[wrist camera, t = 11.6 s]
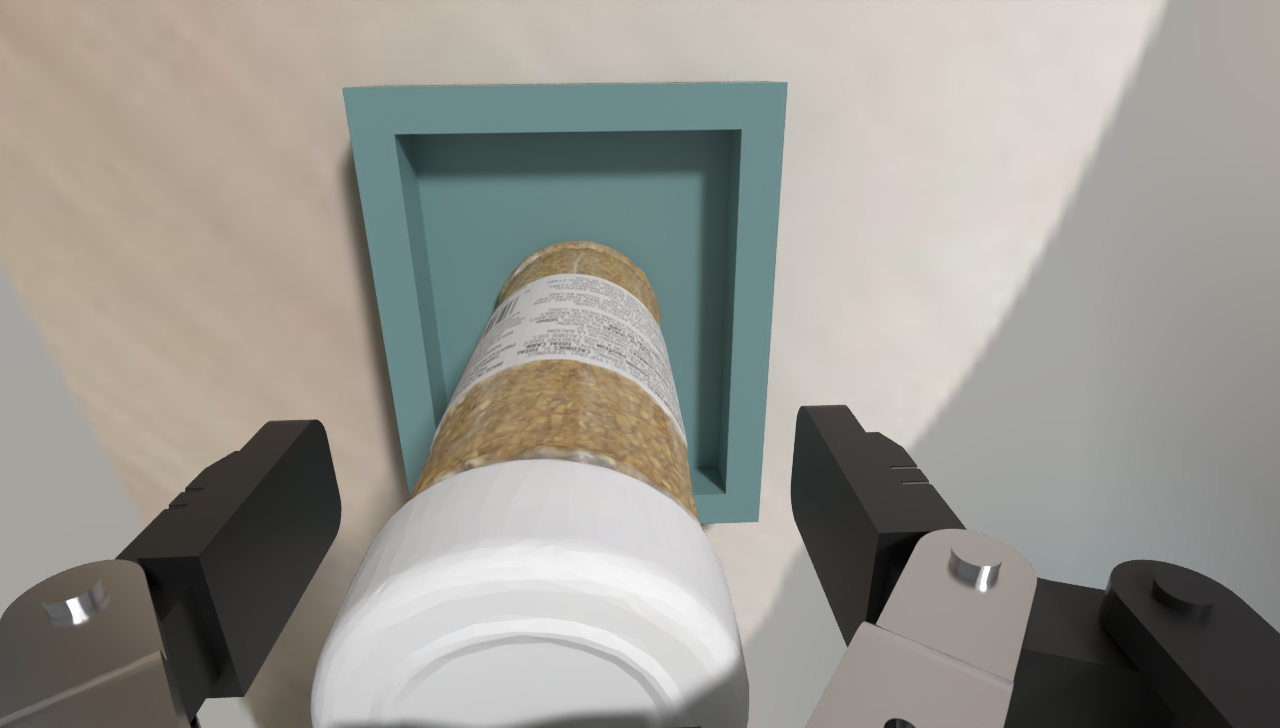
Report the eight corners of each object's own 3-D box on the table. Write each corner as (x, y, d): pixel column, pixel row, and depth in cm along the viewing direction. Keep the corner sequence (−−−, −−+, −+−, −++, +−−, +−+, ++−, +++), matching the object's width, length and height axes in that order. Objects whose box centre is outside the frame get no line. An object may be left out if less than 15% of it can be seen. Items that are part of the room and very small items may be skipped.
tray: (376, 85, 18) (342, 87, 15) (764, 81, 18) (787, 82, 16) (435, 486, 22) (415, 533, 20) (743, 476, 23) (758, 521, 20)
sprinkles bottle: (582, 418, 21) (545, 944, 8) (462, 316, 19) (197, 761, 7) (694, 314, 19) (850, 739, 7) (576, 197, 18) (509, 469, 6)
